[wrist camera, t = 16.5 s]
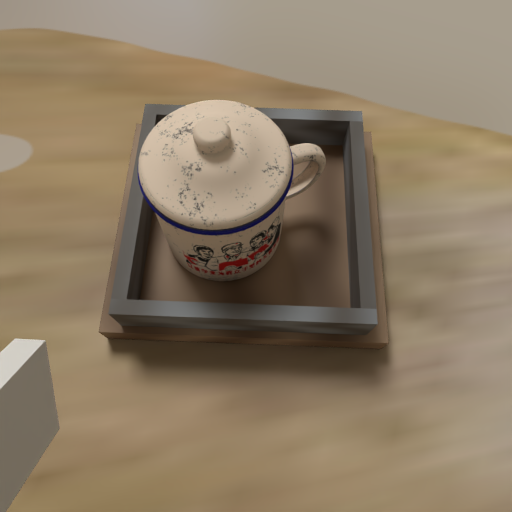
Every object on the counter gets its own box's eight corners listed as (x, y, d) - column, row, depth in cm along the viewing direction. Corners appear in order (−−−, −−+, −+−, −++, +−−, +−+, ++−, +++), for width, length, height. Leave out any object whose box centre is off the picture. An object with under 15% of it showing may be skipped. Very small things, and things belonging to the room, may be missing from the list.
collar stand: (365, 146, 39) (380, 106, 34) (380, 348, 32) (402, 333, 27) (142, 138, 39) (127, 98, 34) (107, 338, 32) (82, 320, 27)
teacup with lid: (185, 304, 31) (149, 229, 20) (150, 200, 34) (104, 89, 23) (338, 248, 33) (380, 153, 22) (290, 155, 36) (307, 33, 25)
